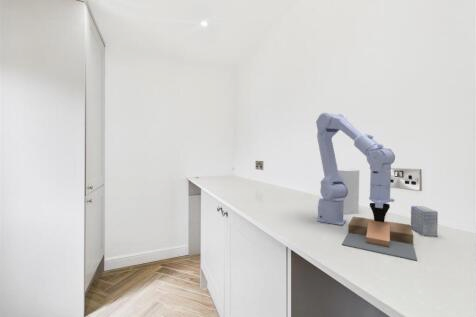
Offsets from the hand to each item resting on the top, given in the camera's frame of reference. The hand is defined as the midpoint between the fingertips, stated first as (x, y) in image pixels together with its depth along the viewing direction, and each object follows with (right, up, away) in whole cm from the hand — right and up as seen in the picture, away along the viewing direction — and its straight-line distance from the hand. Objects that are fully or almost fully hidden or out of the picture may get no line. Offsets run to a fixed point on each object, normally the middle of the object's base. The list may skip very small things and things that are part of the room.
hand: (379, 225), depth 76 cm
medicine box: (+19, -4, +5) cm, 20 cm away
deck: (+2, -4, +4) cm, 6 cm away
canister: (+4, -3, +35) cm, 35 cm away
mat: (-5, -4, -7) cm, 10 cm away
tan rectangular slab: (-3, -2, -4) cm, 5 cm away
